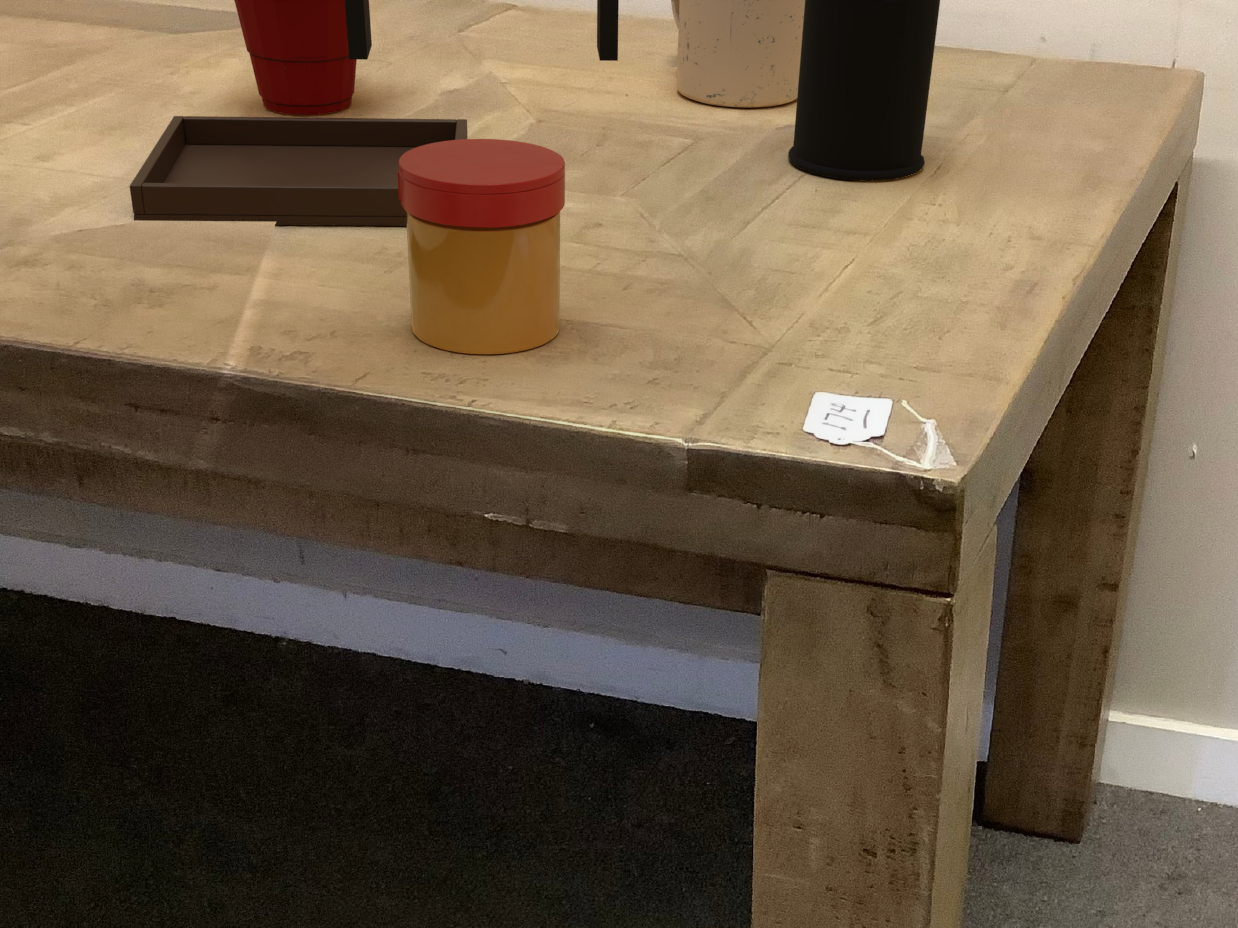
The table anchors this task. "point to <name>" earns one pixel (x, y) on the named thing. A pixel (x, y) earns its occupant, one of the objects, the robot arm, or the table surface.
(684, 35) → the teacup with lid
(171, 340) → the table surface
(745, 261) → the table surface
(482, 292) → the jar
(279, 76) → the plastic cup
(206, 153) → the tray
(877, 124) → the aerosol can
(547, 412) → the table surface
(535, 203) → the cap
